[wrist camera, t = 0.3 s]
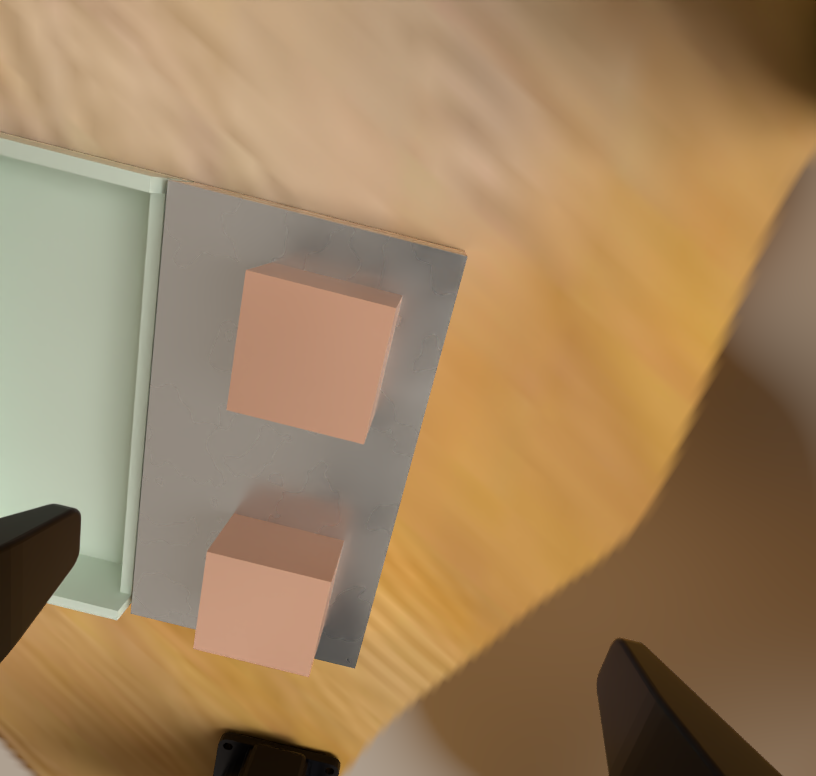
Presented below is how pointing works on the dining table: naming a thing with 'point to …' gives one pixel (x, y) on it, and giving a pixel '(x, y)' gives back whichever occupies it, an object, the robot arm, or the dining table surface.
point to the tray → (78, 351)
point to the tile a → (266, 594)
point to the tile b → (311, 350)
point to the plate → (265, 440)
